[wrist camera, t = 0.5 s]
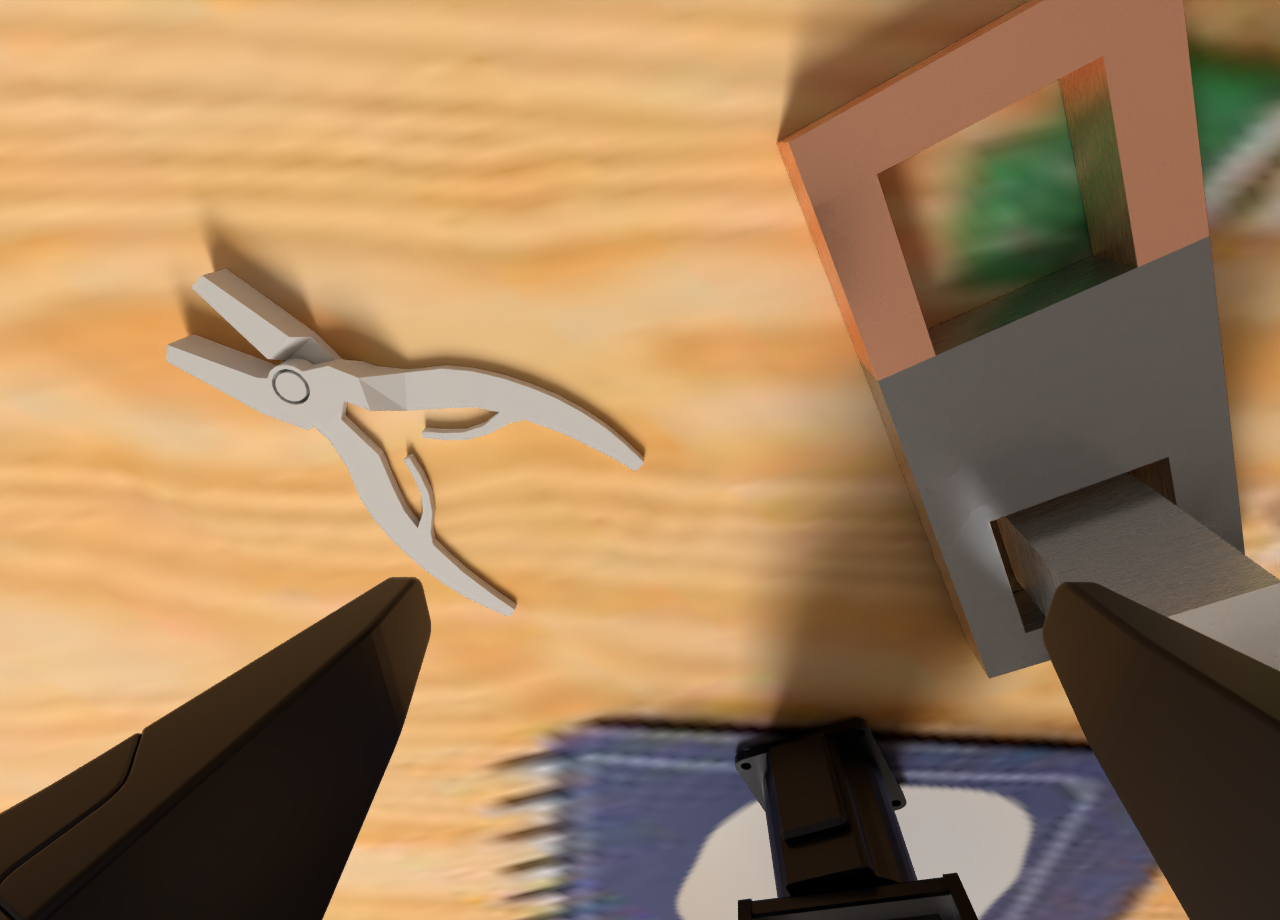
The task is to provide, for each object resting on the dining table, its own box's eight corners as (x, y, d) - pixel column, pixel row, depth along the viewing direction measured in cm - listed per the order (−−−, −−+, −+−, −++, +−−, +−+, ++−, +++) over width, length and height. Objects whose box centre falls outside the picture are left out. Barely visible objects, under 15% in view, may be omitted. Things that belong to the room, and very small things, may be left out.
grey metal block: (1124, 539, 23) (1291, 685, 17) (1014, 576, 24) (1133, 727, 18) (1105, 455, 22) (1282, 582, 15) (989, 498, 23) (1111, 633, 16)
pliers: (500, 634, 25) (134, 428, 21) (509, 608, 26) (167, 410, 23) (647, 469, 21) (231, 181, 17) (648, 448, 23) (263, 178, 19)
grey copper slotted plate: (1206, 565, 23) (1250, 600, 22) (966, 641, 26) (988, 678, 24) (1116, -48, 15) (1174, -74, 13) (776, 143, 17) (788, 143, 16)
